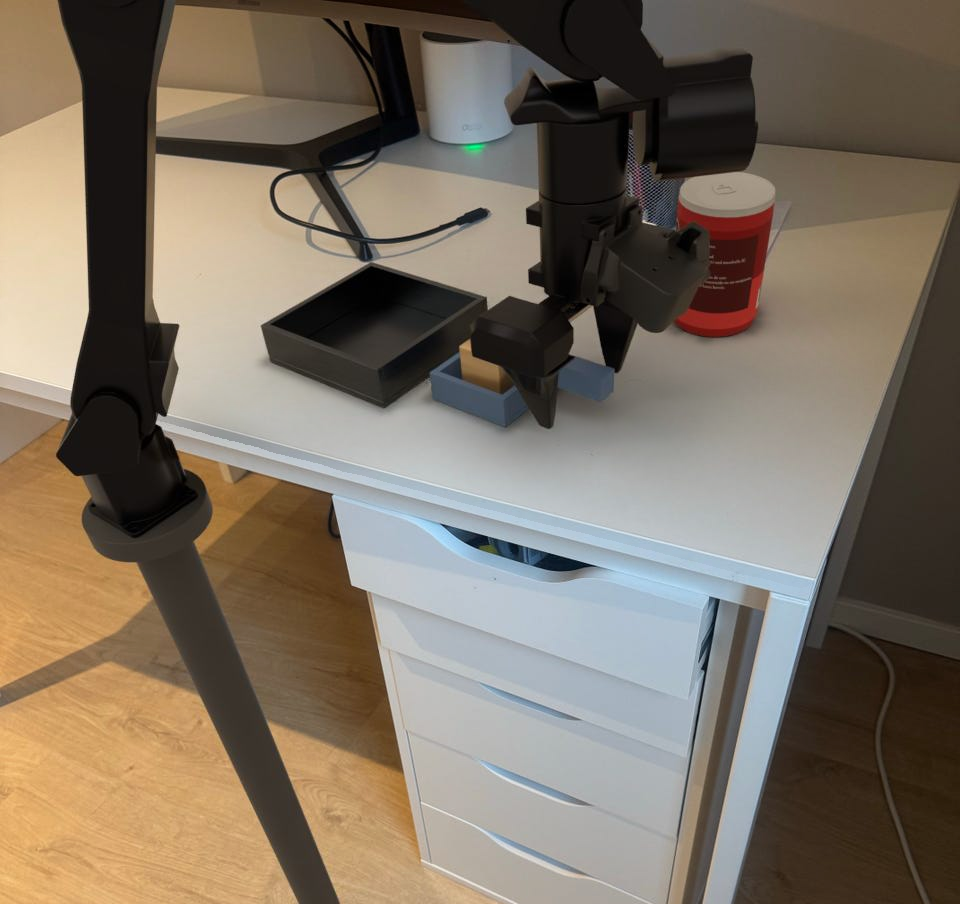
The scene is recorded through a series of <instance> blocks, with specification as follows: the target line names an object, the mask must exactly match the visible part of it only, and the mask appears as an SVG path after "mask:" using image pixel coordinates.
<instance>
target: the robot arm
mask: <svg viewBox="0 0 960 904" xmlns="http://www.w3.org/2000/svg"><path fill="white" fill-rule="evenodd" d="M457 1H458V2H461V3H463V4H465V5H467V6H469V7H471V8H472V9H474V10H475V11H477V13H480V14H481V15H482V16H484V17H486V18H487V19H488V20H489V21H491V22H492V23H493V24H494V25H496V26H497V27H498V28H500V29H501V30H502V31H503V32H505V33H506V34H507V35H508V36H509V37H510V38H512V39H513V40H515V41H516V42H517V43H518V44H519V45H520V46H521V47H523V48H524V49H526V50H528V51H529V52H531V53H532V54H533V55H535V56H536V57H538V58H539V59H540V60H542V61H543V62H545V63H546V64H548V65H549V66H551V67H552V68H554V69H555V70H556V71H557V72H559V73H560V74H562V75H564V76H565V77H567V78H563V79H555V80H546V79H544V78H543V77H541V76H540V74H539V73H538V72H537V71H536V69H535V68H534V67H533V66H530V67H527V68H526V69H525V71H524V74H523V76H522V79H521V80H520V81H519V83H518V84H517V85H516V86H515V87H513V89H512V90H511V91H510V92H509V93H508V94H507V95H506V96H505V98H504V100H503V102H504V103H503V104H504V107H505V109H506V112H507V115H508V117H509V121H510V122H511V124H512V125H513V126H524V125H532V124H536V138H537V139H536V142H537V145H536V146H537V177H538V183H537V184H538V200H537V201H536V202H534V203H532V204H530V205H529V206H527V207H526V208H525V222H526V223H525V224H526V225H530V226H534V227H537V228H539V252H540V253H539V256H540V258H539V259H540V261H539V262H537V263H536V264H534V265H532V266H531V267H530V268H528V269H527V276H528V277H527V281H528V285H529V284H530V285H532V286H536V287H540V288H543V292H544V294H546V298H544V299H543V300H541V301H540V302H539V303H536V302H532V301H529V300H525V299H522V298H520V297H519V298H518V297H515V296H512V295H508V296H507V297H505V298H504V299H502V300H501V301H499V302H497V303H496V304H494V305H493V306H492V307H490V308H489V309H488V310H487V311H486V312H484V313H483V314H481V315H480V316H479V317H478V318H477V319H476V320H474V321H473V322H472V323H471V324H470V325H469V331H470V342H471V352H472V357H475V358H478V359H481V360H484V361H486V362H489V363H492V364H495V365H498V366H501V367H502V368H503V370H504V371H505V372H506V374H507V375H508V376H509V377H510V379H511V380H512V382H513V383H514V385H515V386H516V388H517V389H518V391H519V393H520V394H521V396H522V398H523V399H524V401H525V403H526V404H527V406H528V408H529V409H528V410H529V411H530V413H531V415H532V416H533V418H534V419H535V422H536V423H537V425H539V426H540V428H541V427H542V428H544V429H547V430H551V429H552V428H553V427H554V424H555V419H556V412H557V401H558V389H559V388H558V376H559V371H560V370H561V369H562V368H564V367H565V366H566V365H568V364H569V363H570V362H571V361H573V360H574V358H575V356H576V355H574V356H572V355H573V354H571V355H569V354H570V352H571V350H572V348H573V345H574V343H575V342H574V341H575V340H574V339H575V338H574V337H575V336H574V335H575V334H574V333H575V330H574V326H573V324H571V323H572V322H573V321H575V320H576V319H577V318H578V317H581V316H582V315H583V314H584V313H585V312H588V310H589V309H591V308H593V313H594V319H595V324H596V328H597V334H598V339H599V344H600V349H601V355H602V357H603V360H604V361H603V362H604V365H605V366H608V367H611V368H614V374H619V373H620V372H621V371H622V369H623V366H624V363H625V361H626V358H627V355H628V352H629V350H630V346H631V344H632V341H633V338H634V336H635V334H636V333H635V332H636V330H637V327H638V326H639V327H640V328H641V329H643V330H644V331H646V332H648V333H651V334H661V333H663V332H664V331H665V330H667V329H668V328H669V326H670V325H671V324H672V323H673V322H674V321H675V320H676V319H677V318H678V317H679V316H681V315H684V314H685V313H686V312H687V310H688V308H689V306H690V304H691V302H692V300H693V297H694V295H695V293H696V291H697V289H698V287H699V286H700V285H702V284H703V283H704V282H705V281H706V280H708V279H709V277H710V271H709V269H708V268H709V265H710V263H711V262H710V261H709V255H710V233H709V231H708V230H707V229H705V228H704V227H702V226H701V225H699V224H698V223H696V222H695V221H692V222H691V223H689V224H688V225H686V226H685V227H684V228H682V229H681V230H680V231H678V232H677V233H676V229H674V228H669V227H664V226H661V225H657V224H656V225H657V226H656V225H652V224H647V223H648V222H647V223H643V222H642V221H643V209H644V208H643V206H642V205H640V198H639V197H635V196H630V195H627V194H628V193H627V192H628V170H629V150H630V149H629V146H630V145H629V144H630V124H631V123H630V122H631V112H633V114H632V146H633V147H632V148H633V154H634V158H635V162H636V164H637V166H639V167H640V166H649V170H650V174H651V177H652V179H653V180H654V181H655V182H664V181H673V180H680V179H691V178H693V177H698V176H707V175H715V174H724V173H732V172H743V171H746V170H747V169H748V167H749V166H750V164H751V161H752V160H753V157H754V153H755V150H756V145H757V139H758V134H759V133H758V132H759V121H758V120H757V118H756V96H755V88H754V83H753V79H752V75H751V74H752V68H753V61H754V56H753V55H752V54H751V52H749V51H748V50H747V49H746V48H745V47H744V46H742V45H741V44H740V45H732V46H725V47H721V48H718V49H716V50H713V51H710V52H704V53H696V54H688V55H687V54H685V55H678V56H670V57H669V56H668V57H664V55H663V54H662V52H661V51H660V50H659V49H658V48H657V46H656V45H654V43H653V42H652V41H651V39H650V38H649V37H648V36H647V35H645V34H644V32H643V31H642V27H643V24H644V23H643V21H644V20H643V19H644V17H643V16H644V14H643V13H644V3H643V0H457ZM176 3H177V0H57V4H58V9H59V14H60V20H61V24H62V26H63V30H64V33H65V36H66V39H67V41H68V44H69V47H70V50H71V53H72V56H73V58H74V59H73V60H74V62H75V64H76V67H77V70H78V74H79V78H80V84H81V101H82V103H81V104H82V132H83V134H82V135H83V136H82V137H83V167H84V197H85V198H84V200H85V226H86V227H85V229H86V230H85V231H86V232H85V233H86V261H87V262H86V265H87V294H88V295H87V296H88V297H87V298H88V312H87V318H86V322H85V326H84V331H83V336H82V340H81V344H80V347H79V351H78V357H77V360H76V365H75V370H74V376H73V383H72V387H71V393H70V400H69V401H70V402H69V403H70V404H69V406H70V410H71V414H70V417H69V419H68V423H67V425H66V427H65V430H64V432H63V435H62V438H61V440H60V443H59V445H58V448H57V451H56V453H55V457H56V459H57V460H58V461H59V462H60V463H61V464H62V465H64V467H65V468H66V469H67V470H68V471H69V472H70V473H71V474H72V475H73V476H75V477H81V479H82V481H83V483H84V484H85V486H86V488H87V491H88V492H89V495H90V498H91V497H92V499H93V501H94V502H92V503H90V504H89V505H88V509H89V511H90V512H91V513H92V514H94V515H96V516H97V517H99V518H100V519H102V520H104V521H105V522H107V523H109V524H110V525H112V526H114V527H115V528H117V529H118V530H120V531H122V532H123V533H125V534H127V535H128V536H130V537H132V538H138V537H140V536H142V535H143V534H145V533H146V532H148V531H149V530H151V529H152V528H154V527H155V526H157V525H158V524H160V523H161V522H163V521H164V520H166V519H167V518H169V517H170V516H172V515H173V514H175V513H176V512H178V511H179V510H181V509H182V508H184V507H185V506H187V505H188V504H190V503H191V502H193V501H194V500H195V499H197V498H198V494H197V491H196V490H194V489H193V488H191V487H189V486H187V485H185V484H183V483H185V482H186V481H187V477H186V474H185V472H184V469H185V468H184V467H183V464H182V462H181V458H180V456H179V454H178V451H177V449H176V445H175V444H174V441H173V439H172V438H170V437H168V436H166V435H165V433H164V430H163V428H162V426H161V425H159V424H157V420H158V417H159V415H160V416H161V417H163V418H166V417H167V416H168V413H169V409H170V405H171V401H172V397H173V394H174V389H175V386H176V381H177V378H178V374H179V370H180V368H179V365H178V362H177V359H176V353H175V346H176V341H177V338H178V334H179V329H180V324H179V323H174V322H173V323H171V322H170V323H169V322H161V321H160V318H159V315H158V312H157V310H156V307H155V303H154V258H155V257H154V254H155V253H154V251H155V250H154V249H155V209H156V207H155V206H156V205H155V204H156V203H155V202H156V159H157V158H156V156H157V155H156V152H157V110H158V109H157V105H158V103H157V101H158V82H159V77H160V72H161V67H162V65H163V59H164V55H165V51H166V47H167V43H168V39H169V34H170V31H171V27H172V23H173V22H172V21H173V18H174V12H175V7H176ZM602 78H604V79H606V80H608V81H609V82H610V83H612V84H613V85H615V86H617V87H597V86H596V83H595V82H597V81H599V80H600V79H602Z"/></svg>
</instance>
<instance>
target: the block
mask: <svg viewBox="0 0 960 904" xmlns="http://www.w3.org/2000/svg"><path fill="white" fill-rule="evenodd" d="M459 349H460V359H461V369H462V379H463V380H464V381H466V382H469V383H472V384H475V385H477V386H480V387H483V388H485V389H488V390H491V391H494V392H496V393H499V394H502V395H503V394H504V393H505V392H507V391H508V390H509V389H511V388H512V387H513V386H515V385H514V383H513V382H512V380H511V379H510V377H509V376H508V375H507V374H506V372H505V371H504V370H503V368H502V367H501V366H498V365H495V364H492V363H489V362H486V361H484V360H481V359H478V358H475V357H472V352H471V342H470V339H469V340H468V341H466V342H465V343H463V344H462V345H460V346H459Z"/></svg>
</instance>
